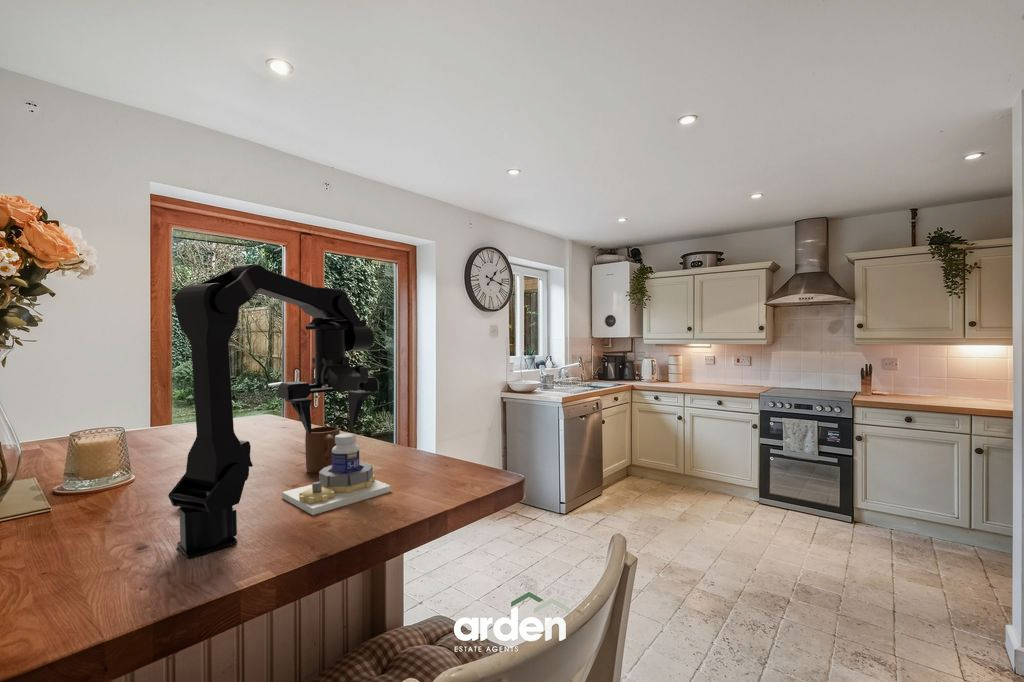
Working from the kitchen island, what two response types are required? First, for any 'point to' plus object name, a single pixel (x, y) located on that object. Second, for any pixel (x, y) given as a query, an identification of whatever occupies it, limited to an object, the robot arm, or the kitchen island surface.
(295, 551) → the kitchen island surface
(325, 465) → the mug
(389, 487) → the gear board
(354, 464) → the pill bottle
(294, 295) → the robot arm
